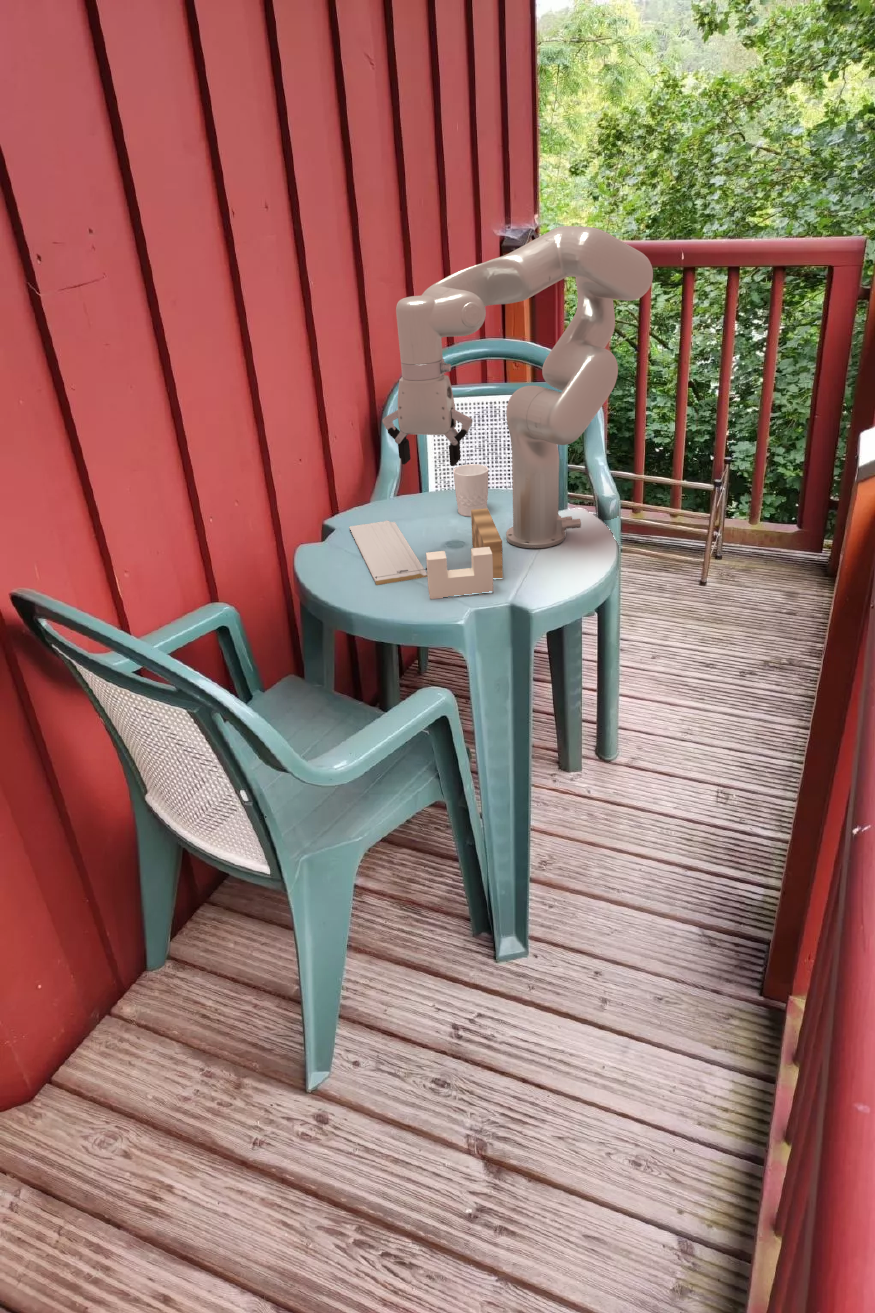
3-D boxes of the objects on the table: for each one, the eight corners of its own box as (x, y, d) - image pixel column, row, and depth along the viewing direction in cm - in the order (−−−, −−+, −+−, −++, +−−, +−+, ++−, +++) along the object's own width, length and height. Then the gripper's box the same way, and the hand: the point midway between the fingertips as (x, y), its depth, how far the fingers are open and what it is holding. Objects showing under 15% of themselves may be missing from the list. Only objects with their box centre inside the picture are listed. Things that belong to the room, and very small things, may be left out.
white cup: (459, 519, 204) (457, 477, 199) (452, 508, 211) (450, 466, 206) (493, 515, 205) (492, 472, 200) (484, 503, 212) (483, 462, 207)
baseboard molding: (401, 524, 205) (349, 532, 202) (400, 512, 203) (348, 520, 201) (435, 578, 178) (376, 588, 176) (434, 564, 177) (374, 574, 175)
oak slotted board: (472, 545, 190) (471, 509, 186) (488, 544, 190) (487, 508, 186) (485, 580, 175) (483, 542, 171) (502, 579, 175) (501, 540, 171)
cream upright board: (490, 585, 173) (489, 546, 169) (493, 593, 170) (492, 553, 166) (428, 591, 172) (425, 552, 168) (430, 599, 169) (427, 560, 165)
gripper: (474, 365, 162) (479, 457, 170) (385, 365, 167) (394, 455, 176) (462, 375, 156) (468, 471, 164) (370, 375, 161) (380, 468, 169)
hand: (430, 462), depth 170 cm, fingers open, 9 cm apart
